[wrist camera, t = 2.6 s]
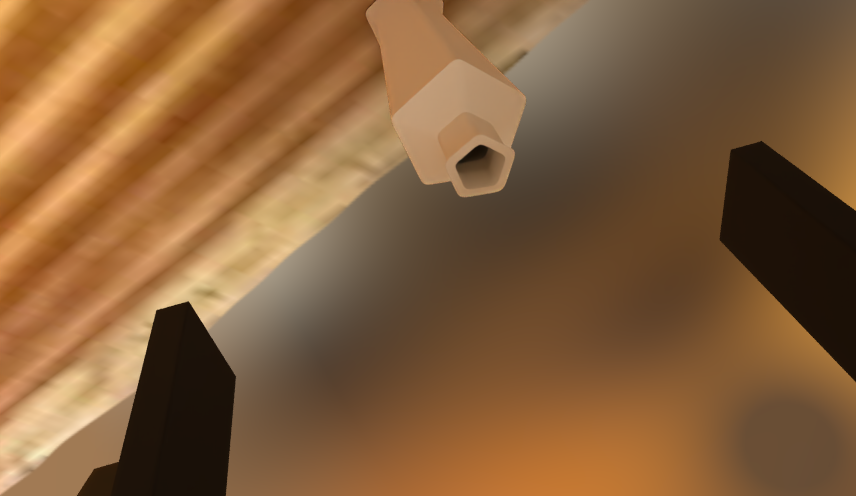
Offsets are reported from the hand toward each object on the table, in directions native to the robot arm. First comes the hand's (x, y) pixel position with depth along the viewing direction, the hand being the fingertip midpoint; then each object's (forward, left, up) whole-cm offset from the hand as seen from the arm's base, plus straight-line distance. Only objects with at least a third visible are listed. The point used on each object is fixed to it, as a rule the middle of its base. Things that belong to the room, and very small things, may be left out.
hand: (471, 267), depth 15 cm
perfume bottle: (-1, 0, -20) cm, 20 cm away
